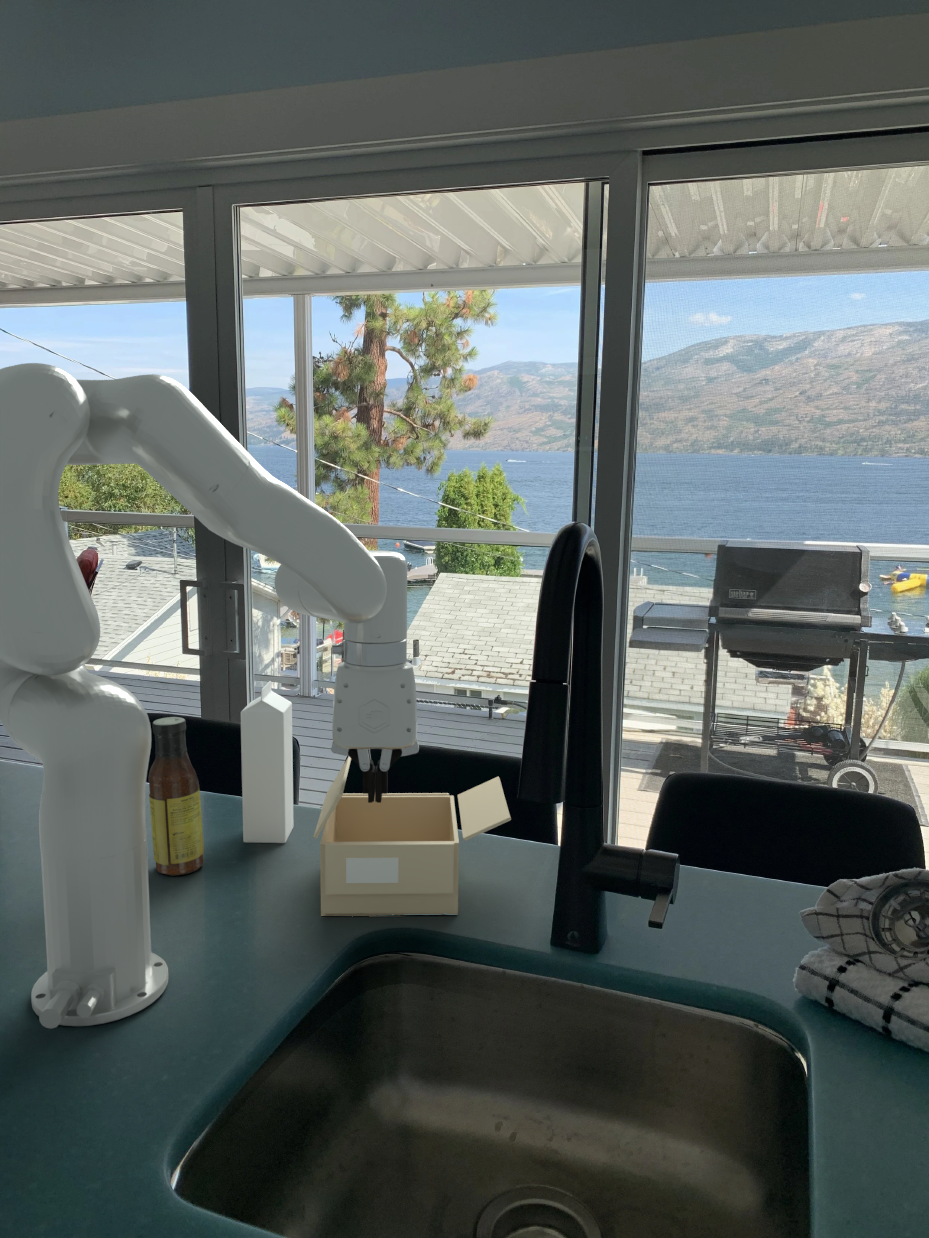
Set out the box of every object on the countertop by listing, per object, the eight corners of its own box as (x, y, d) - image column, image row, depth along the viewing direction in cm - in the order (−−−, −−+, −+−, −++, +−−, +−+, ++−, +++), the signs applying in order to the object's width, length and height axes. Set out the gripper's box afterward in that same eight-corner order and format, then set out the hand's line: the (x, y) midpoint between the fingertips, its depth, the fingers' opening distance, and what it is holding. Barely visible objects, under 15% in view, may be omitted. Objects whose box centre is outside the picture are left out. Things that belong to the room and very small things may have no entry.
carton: (458, 918, 106) (459, 844, 104) (320, 920, 105) (319, 845, 104) (452, 857, 123) (453, 793, 122) (333, 858, 122) (333, 793, 121)
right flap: (463, 838, 106) (464, 841, 106) (509, 817, 106) (511, 819, 106) (457, 794, 120) (458, 797, 120) (498, 776, 120) (499, 778, 120)
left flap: (328, 795, 119) (326, 793, 119) (351, 757, 119) (348, 755, 119) (316, 839, 105) (313, 837, 105) (342, 795, 104) (339, 794, 104)
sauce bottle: (211, 859, 121) (207, 714, 118) (193, 879, 115) (188, 727, 112) (164, 856, 122) (159, 713, 119) (143, 876, 116) (137, 725, 113)
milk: (243, 843, 127) (238, 689, 123) (253, 826, 133) (249, 679, 129) (286, 843, 127) (282, 690, 123) (294, 827, 133) (291, 680, 129)
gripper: (309, 658, 105) (310, 809, 108) (438, 659, 106) (436, 809, 109) (316, 647, 113) (317, 788, 115) (436, 648, 113) (435, 789, 116)
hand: (375, 798), depth 112 cm, fingers closed
